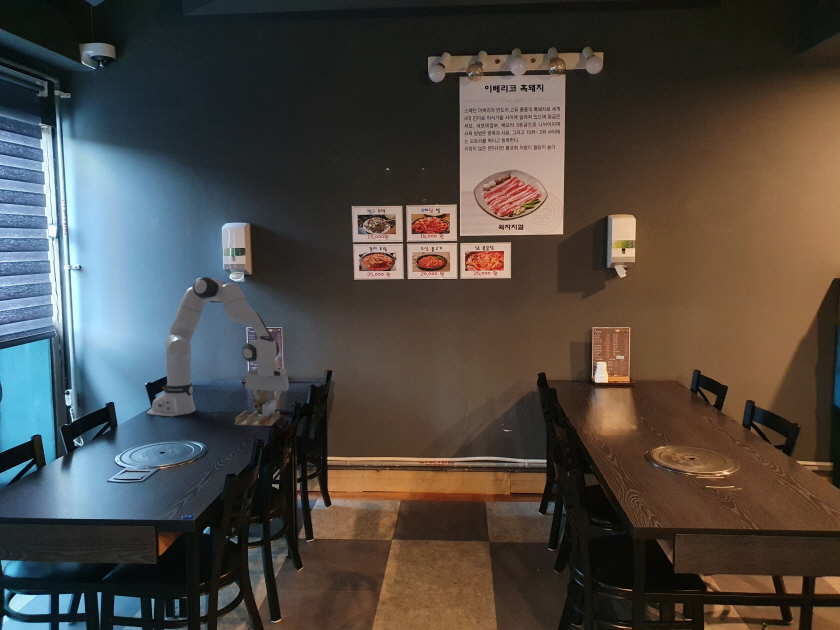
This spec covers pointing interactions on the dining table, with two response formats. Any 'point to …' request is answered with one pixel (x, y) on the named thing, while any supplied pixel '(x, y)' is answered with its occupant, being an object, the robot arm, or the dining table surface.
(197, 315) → the robot arm
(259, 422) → the rack
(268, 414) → the panel
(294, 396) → the dining table surface
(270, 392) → the coffee box
